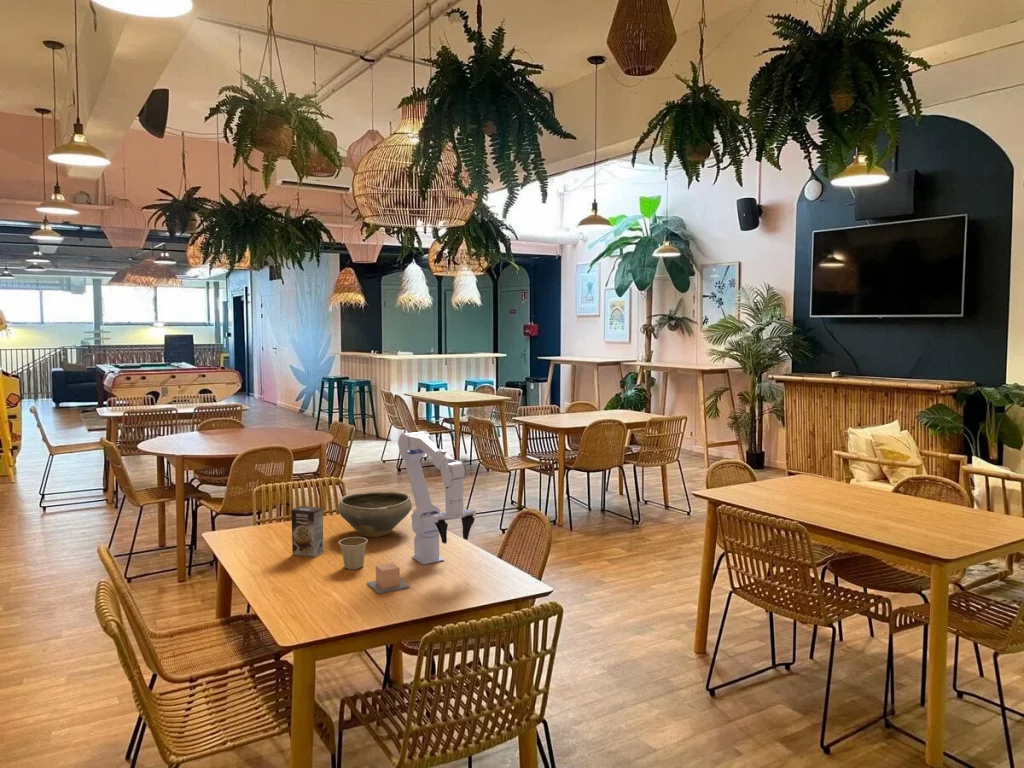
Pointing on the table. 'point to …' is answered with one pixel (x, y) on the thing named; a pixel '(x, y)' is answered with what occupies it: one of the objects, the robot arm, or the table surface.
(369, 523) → the bowl
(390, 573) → the painted block
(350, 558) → the flower pot
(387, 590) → the slate coaster
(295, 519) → the coffee box
